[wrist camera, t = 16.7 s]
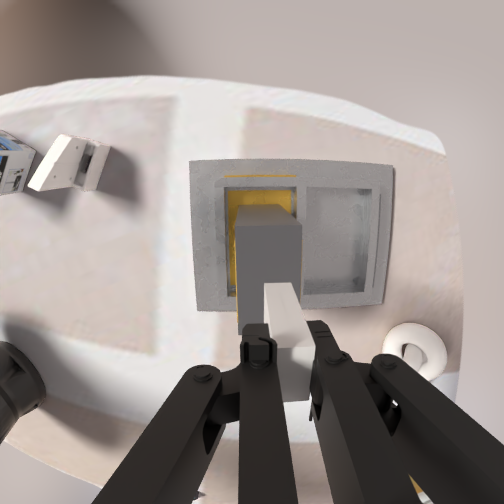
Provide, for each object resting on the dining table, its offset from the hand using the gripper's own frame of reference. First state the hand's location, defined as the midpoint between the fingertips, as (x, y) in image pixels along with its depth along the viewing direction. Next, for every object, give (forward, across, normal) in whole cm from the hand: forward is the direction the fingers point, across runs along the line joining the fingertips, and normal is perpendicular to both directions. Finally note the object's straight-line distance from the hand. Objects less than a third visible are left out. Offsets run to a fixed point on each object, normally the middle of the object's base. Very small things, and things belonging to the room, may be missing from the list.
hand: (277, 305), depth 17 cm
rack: (+19, +4, 0) cm, 19 cm away
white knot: (+19, +20, -18) cm, 33 cm away
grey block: (+18, 0, 0) cm, 18 cm away
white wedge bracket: (+19, -21, +10) cm, 30 cm away
